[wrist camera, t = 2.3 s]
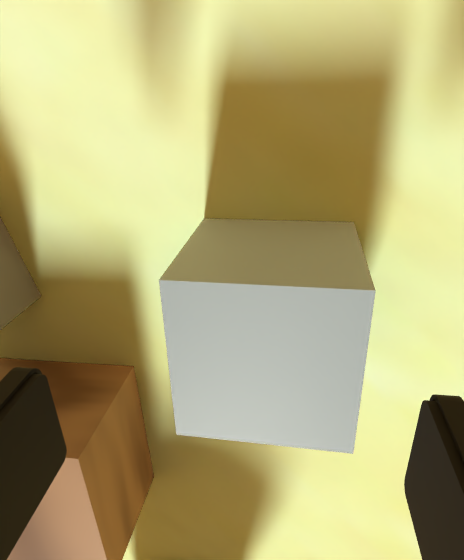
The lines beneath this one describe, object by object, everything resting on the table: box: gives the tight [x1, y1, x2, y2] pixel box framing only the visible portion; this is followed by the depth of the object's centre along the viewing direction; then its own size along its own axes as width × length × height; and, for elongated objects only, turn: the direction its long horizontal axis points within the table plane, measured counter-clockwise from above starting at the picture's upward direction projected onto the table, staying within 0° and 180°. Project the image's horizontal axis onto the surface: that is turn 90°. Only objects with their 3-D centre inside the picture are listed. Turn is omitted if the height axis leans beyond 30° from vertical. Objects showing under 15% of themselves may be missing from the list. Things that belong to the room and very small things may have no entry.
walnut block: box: [0, 358, 154, 560], centre depth 21 cm, size 8×8×6 cm
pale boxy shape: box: [159, 219, 375, 454], centre depth 16 cm, size 6×6×6 cm
